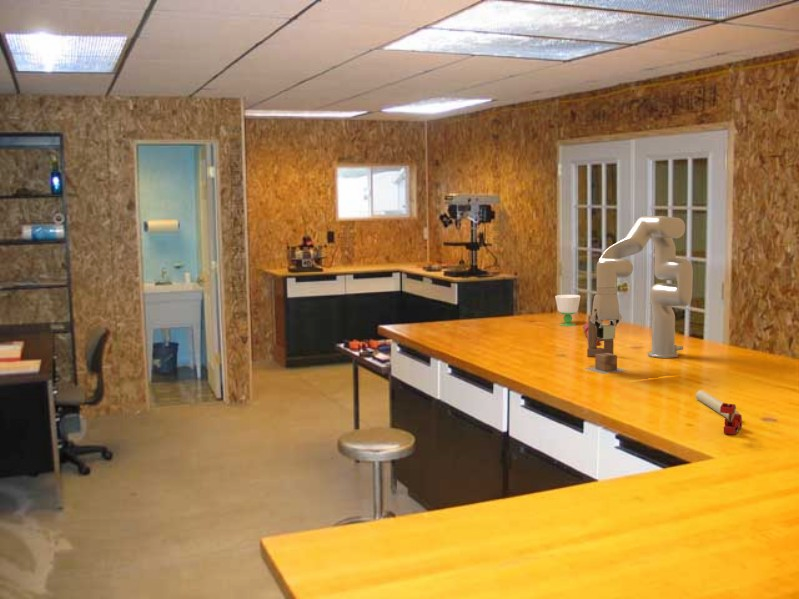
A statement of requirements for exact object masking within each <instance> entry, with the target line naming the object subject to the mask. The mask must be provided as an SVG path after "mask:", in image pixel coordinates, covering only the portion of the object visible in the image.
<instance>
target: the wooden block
mask: <svg viewBox="0 0 799 599" xmlns="http://www.w3.org/2000/svg"><path fill="white" fill-rule="evenodd" d="M591 317H592V314H590V315H588V319H587V320H588V321H587V323H588V339H587V341H588V343H587V346H588V347H587V351H586V352H587V353H586V354H587V357H591V358H592V357H593V358H594V357H595V354H602V353H610V354H614V338H612V339H602V338H598V339H597V327H595V325H594V324H593V323H592V322H591V321H590V318H591ZM596 321H597V320H596ZM597 341H600V342H603V347H598V345H597Z"/></svg>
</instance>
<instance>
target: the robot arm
mask: <svg viewBox="0 0 799 599" xmlns="http://www.w3.org/2000/svg"><path fill="white" fill-rule="evenodd" d="M685 231H686V223H685V221H684V220H683V219H682V218H680V217H672V216H664V215H645V216H643V215H642V216H640V217H638V219H636V221H635V223H634V224H633V225H632V227H631V229H630V230H629V231H628V233H627V234H626V235H625V237H624V238H623V239H621V240H619V241H617V242H616V243H614V244H612V245H611V246H609V247H607V248H606V249H605V250H604V251H603V253H602V254H601V256H600V257H599V259H598V262H597V263H596V294H595V295H594V297H593V302H592V309H591V310H592V311H591V315H592V317H591V318H590V321H591V322H592V323H593V324H594V325H595V327H597V337H598V338H603V328H602V325H603V324H604V321H608V322H609V323H608V324H609V325H614V326H615V328H616V327H617V326H618V324H619V323H620V321H621V320H622V319H623V316H622V315H621V314H620V303H619V297H618V294H617V292H619V288H618V287H617V278H618V279H619V278H621V279H623V278H625V279H626V278H628V277H629V276H631V274H632V273H633V270H634V266H633V263H632V262H631V261H630V260H628V259H626V258H627V257H630V256H633V255H636V254H638V253H641V252H642V251H643V250H644V248H645V246H646V245H647V244H648V242H649V240H651V242H652V243H653V246H654V268H653V269H654V270H653V271H654V276H655V278H656V279H658V280H661V281H674V282H675V281H676V283H668V282H667V283H666V282H665V283H664V282H660V283H656V284H653V285H652V286H651V287H650V290H649V299H650V305H651V351H650V350H649V351H648V352H647V356H649V357H651V358H658V359H671V358H672V359H673V358H678V357H679V353H678V352H677V351H683V350H684V345H678V346H677V344H675V343H676V342H675V338H676V329H675V328H676V315H675V312H674V309H673V308H672V307H679V308H681V307H683V308H684V307H687V306H689V305H690V304H691V302H692V298H693V280H694V279H693V277H694V273H693V271H694V268H693V265H692V262H691V261H690V260H688V259H687V258H677V257H676V250H677V249H676V244H675V241H674V240H673V239H680V238H681V237H682V236H684V234H685ZM596 320H597V321H596Z"/></svg>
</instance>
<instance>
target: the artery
mask: <svg viewBox="0 0 799 599" xmlns="http://www.w3.org/2000/svg"><path fill="white" fill-rule="evenodd" d="M582 329H583V331H584V332H583V333H584V334H585V336H586V339H587V340H588V322H585V323H584V324H583V325H582ZM597 339H598V338H597ZM600 342H601V341H597V346H598V345H599V344H600Z"/></svg>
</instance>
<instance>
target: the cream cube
mask: <svg viewBox="0 0 799 599" xmlns="http://www.w3.org/2000/svg"><path fill="white" fill-rule="evenodd" d="M602 328H603V338H602V339H612V338H613V339H616V327H615V326H614V325H610V323H606V324H604V323H603V325H602ZM597 338H598V337H597Z"/></svg>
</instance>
